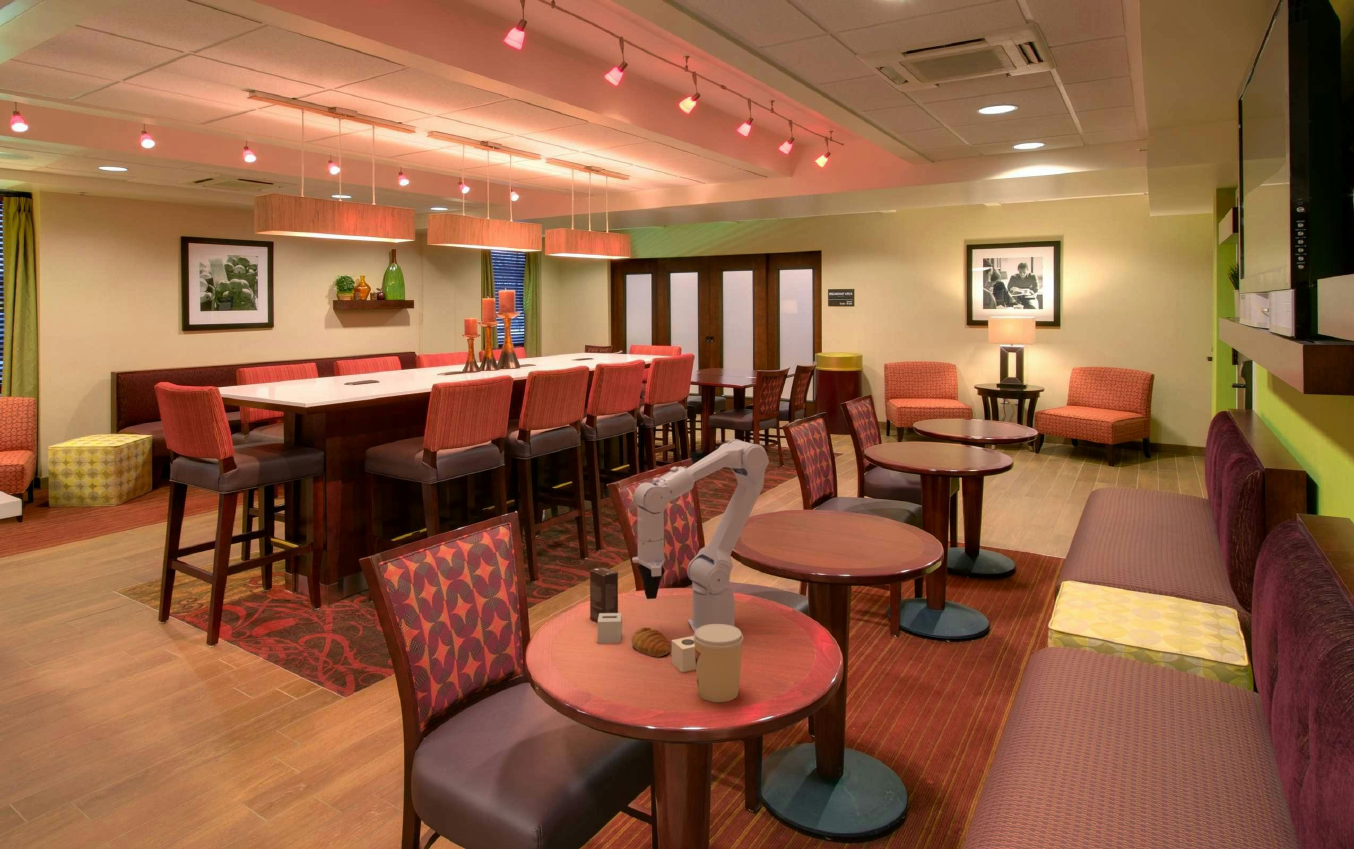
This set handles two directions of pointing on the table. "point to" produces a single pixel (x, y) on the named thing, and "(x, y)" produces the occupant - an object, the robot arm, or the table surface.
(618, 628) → the marked block grey
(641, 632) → the pastry
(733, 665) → the coffee cup
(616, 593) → the box
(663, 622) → the table surface
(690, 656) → the marked block cream
